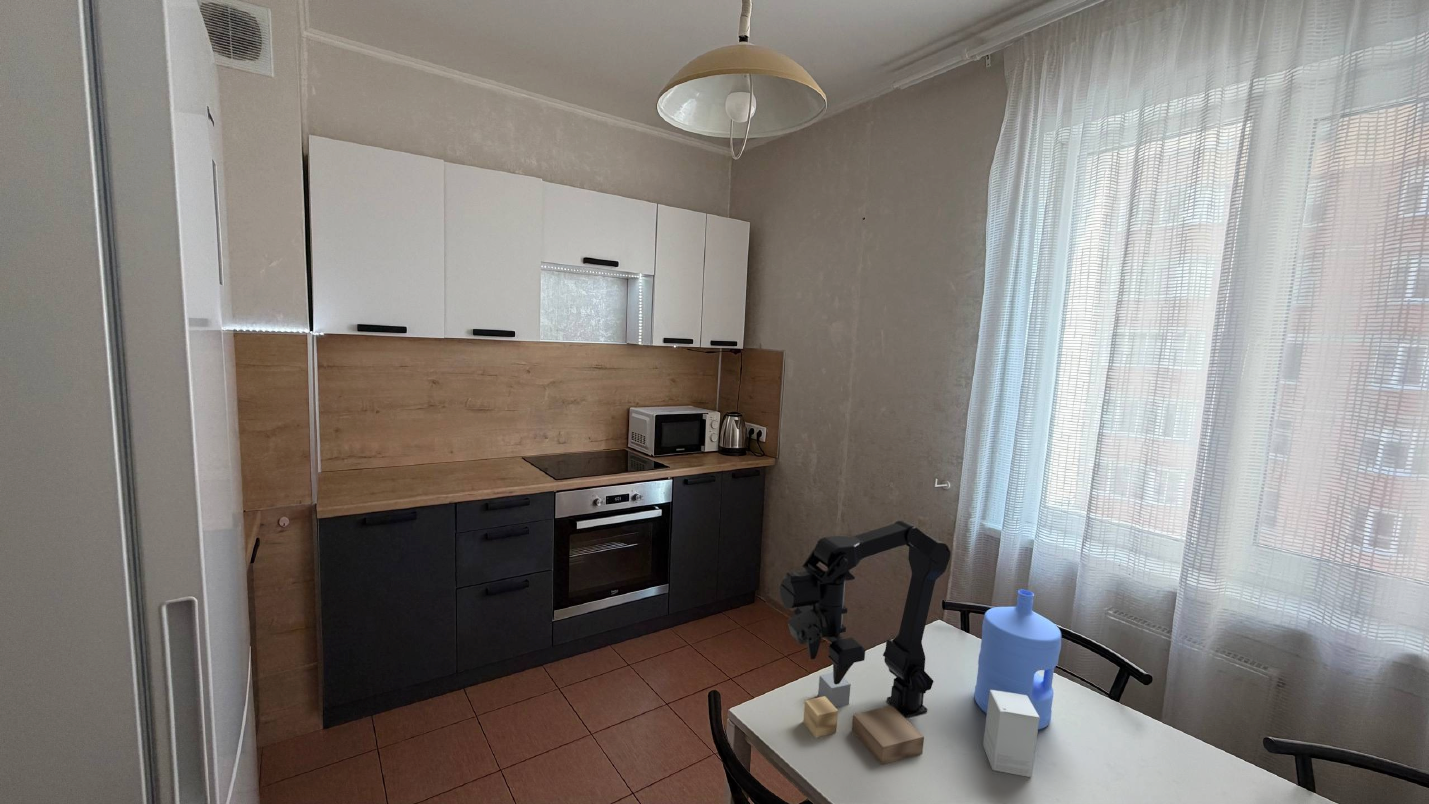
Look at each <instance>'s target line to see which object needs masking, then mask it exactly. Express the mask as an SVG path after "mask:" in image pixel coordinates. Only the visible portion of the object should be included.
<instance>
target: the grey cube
mask: <svg viewBox="0 0 1429 804" xmlns="http://www.w3.org/2000/svg"><path fill="white" fill-rule="evenodd" d="M818 678H819V680H818V691H817V696H818V698H819V697H824V696H825V697H826V698H827V699H828V700H829V701H830V702H831V703H832V704H833V706H834V707H835V708H838V707H839V708H840V707H843V706H844V707H845V706H848V705H847V704H850V695H851V683H850V682H849V680H848V679H846V678H845V676H844V677H843V679H842V680H841V682H840V683H839V684H836V685H835V684H834V679H833V672H829V673H824V674H820V675H819V677H818Z"/></svg>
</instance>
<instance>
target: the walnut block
mask: <svg viewBox="0 0 1429 804" xmlns="http://www.w3.org/2000/svg"><path fill="white" fill-rule="evenodd" d="M851 725H852V726H851V731H852V732H853V734H854V733H855V736H856V737H857V739H859V741H860V742H861V743H862V744H863V745H864V747H866V749H867V750H868V751H869V752H870V753H871V754H872V755H873V757H874V758H875V759H876V760H877V761H878V762H879V763H880V765H884V764H887V763H891V762H895V761H899V760H903V759H908V758H910V757H914V756H918V755H921V754H923V751H924V750H923V749H924V743H925V736H924V735H923V734H922V733H921V732H920V731H919V730H918V729H917V728H916V727H915V726H914V725H913V724H911V722H909V720H908V719H907V718H906V717H905V716H903V715H902V714H901V713H900V712H899V711H898V710H897V709H896V708H895V707H894V706H893V705H889V706H885V707H881V708H876V709H872V710H871V709H870V710H866V711H862V712H858V713H854V714H852V724H851Z"/></svg>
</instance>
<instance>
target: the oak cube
mask: <svg viewBox="0 0 1429 804" xmlns="http://www.w3.org/2000/svg"><path fill="white" fill-rule="evenodd" d="M838 716H839V710H838V709H837V707H834V706H833V704H832V703H831V702H830V701H829V700H828V699H827V698H826V697H825V696H824V697H819V696H818V697H815V698H811V699H807V700H804V710H803V720H802V721H803V723H804V725H805V726H806V727H807V728H808V730H809V731H810V732H811V734H812V735H813V736H814V737H815V738H820V737H823V736H827V735H831V734H835V733H837V727H838Z"/></svg>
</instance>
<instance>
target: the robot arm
mask: <svg viewBox="0 0 1429 804" xmlns="http://www.w3.org/2000/svg"><path fill="white" fill-rule="evenodd" d="M902 546H907V547H908V556H907V557H908V559H907V560H908V563H909V567H910V570H911V577H910V582H909V585H908V591H907V595H906V598H905V599H906V600H905V604H904V609H903V611H902V612H903V614H902V617H901V621H900V622H901V623H900V627H899V632H898V633H897V635H896V636H895V637H894V638H893V639H887V640H886V642H885V649H884V652H883V654H882V656H883V657H884V663H885V665H886V666H887V668H888V672H889V673H890V674H892V675H893V676H895V677H894V678H893V685H892V686H891V692H890V693H891V694H890V696H887V698H886V701H887V702H888V703H889V704H890V705H891V706H893V707H894V708H895V709H896V710H897V711H898V712H899V713H900V714H901V715H902V716H903V717H904V718H906V717H907V718H909V717H911V716H912V717H913V716H916V715H920V714H924V713H927V712H928V708H927V707H926V706H925V705H924V697H925V695H924V694H926V693H927V691H930V690H932V686H933V684H934V679H933V678H932V677H931V676H929V674H928V673H927V672H926V671H925V669H926V667H925V666H926V654H925V651H924V648H923V637H924V632H925V628H926V624H927V619H928V616H929V615H928V614H929V610H930V606H931V602H932V596H933V594H934V593H933V592H934V588H935V585H936V581H937V580H938V579H939V578H940V577H941V576H942V575H943V574H944V573H945V572H946V570H947V567H948V564H949V562H950V559H951V554H952V551H951V549H950V548H949V546H948V545H947V544H946V543H944V542H943V541H940V540H938V539H936V538H934V537H933V536H930V535H928V534H927V533H924V532H922V530H920V529H919V528H918V527H917V526H915V525H914V524H911V523H909V522H907V520H906V521H905V520H897V521H895V522H894V523H892V524H889V525H886V526H882V527H879V528H877V529H873V530H869V531H867V532H862V533H861V534H860V533H859V534H857V535H853V536H852V535H851V536H846V535H845V536H844V535H833V536H825V537H821V538H820V539H819V540H818V541H817V543H816V545H815V547H814V548H813V549H812V551H811V552H810V554H809V555H808V557H807V558H806V560H805V562H804V563H803V564H802V566H801V567H802V569H804V570H805V571H798V572H794V571H793V572H792V571H791V572H790V571H789V572H787V573H786V575H785V576H786V577H785V578H784V579H782V580H781V584H780V585H779V594H780V598H781V601H782V604H783V606H784V607H785V608H787V609H794V610H793V611H792V617H791V618H789V619H788V620H787V624H788V628H789V631H790V634H791V637H793V638H794V639H795V640H796V641H797V643H798V644H800V645H806V647H807V651H808V654H809V655H808V656H809V658H810V660H815V659H816V658H817V655H818V652H819V649H820V645H821V642H822V639H823V638H826V639H827V640H828V641H830V644H829V645H828V653H829V655H827V657H828V658H829V659H830V661H832V673H833V679H834V684H835V685H836V684H839V683H840V682H841V680H842V679H843V677H844V678H845V676H846V674H847V673H848V672H849V670H850V668H851V667H852V666H853V665H854V664H855V663H859V662H863V661H865V658H866V649H865V648H864V647H863V646H862V644H860V643H859V642H858V641H857V640H855V638H853V637H847V638H846V637H845V638H844V637H843V636H842V635H841V633H846V630H847V627H846V626H845V625H844V624H843V615H844V614H847V613H848V607H846V606H845V605H844V603H845V587H846V582H847V581H854V580H855V578H856V576H854V575H853V574H852V573H851V572H850V571H851V570H853V569H855V568H856V567H857V566H858V564H860V562H861V560H864V559H866V558H869V557H872V556H875V555H878V554H879V555H880V554H881V553H884V552H887V551H890V550H891V551H892V550H893V549H894V550H895V549H897V548H900V547H902ZM818 564H820V565H821V566H823V567H825V568H826V569H827V570H823V569H822V568H821V567H820V566H818Z"/></svg>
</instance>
